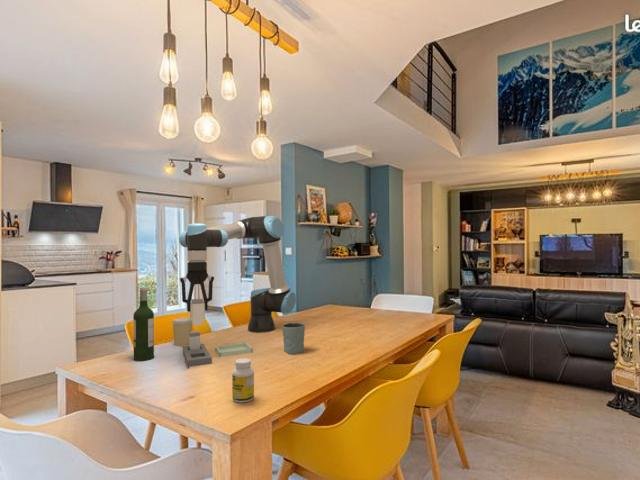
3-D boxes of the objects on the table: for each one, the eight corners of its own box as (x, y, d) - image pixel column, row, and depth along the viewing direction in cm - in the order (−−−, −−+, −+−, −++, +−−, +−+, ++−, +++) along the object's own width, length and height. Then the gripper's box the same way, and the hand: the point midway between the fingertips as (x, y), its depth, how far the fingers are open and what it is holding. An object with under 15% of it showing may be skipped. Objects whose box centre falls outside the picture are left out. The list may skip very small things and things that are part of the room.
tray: (246, 347, 173) (246, 342, 173) (252, 353, 162) (252, 348, 162) (215, 351, 167) (215, 346, 167) (219, 358, 156) (219, 352, 156)
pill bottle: (229, 397, 114) (229, 359, 115) (249, 393, 118) (249, 356, 118) (236, 405, 109) (236, 365, 109) (257, 400, 112) (257, 361, 113)
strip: (203, 350, 169) (203, 342, 169) (211, 365, 147) (211, 355, 147) (182, 353, 165) (182, 344, 165) (187, 368, 143) (187, 359, 144)
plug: (201, 322, 154) (201, 298, 154) (203, 324, 150) (203, 299, 150) (191, 323, 152) (191, 299, 152) (192, 325, 148) (192, 300, 149)
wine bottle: (135, 357, 160) (134, 287, 161) (155, 355, 163) (154, 286, 164) (131, 362, 153) (131, 289, 154) (152, 360, 155) (152, 288, 156)
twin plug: (198, 353, 164) (198, 330, 165) (200, 355, 161) (199, 332, 161) (189, 354, 163) (189, 331, 163) (190, 357, 159) (190, 333, 159)
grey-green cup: (302, 348, 170) (301, 321, 171) (308, 353, 161) (307, 326, 161) (280, 350, 167) (279, 323, 167) (285, 356, 158) (285, 328, 158)
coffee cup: (196, 341, 186) (196, 317, 186) (187, 346, 176) (187, 321, 176) (178, 341, 186) (178, 317, 187) (168, 346, 177) (168, 321, 177)
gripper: (217, 260, 159) (217, 315, 158) (174, 261, 152) (174, 319, 151) (220, 261, 152) (220, 318, 151) (175, 262, 145) (175, 322, 144)
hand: (197, 319), depth 151 cm, fingers closed on plug, 4 cm apart
